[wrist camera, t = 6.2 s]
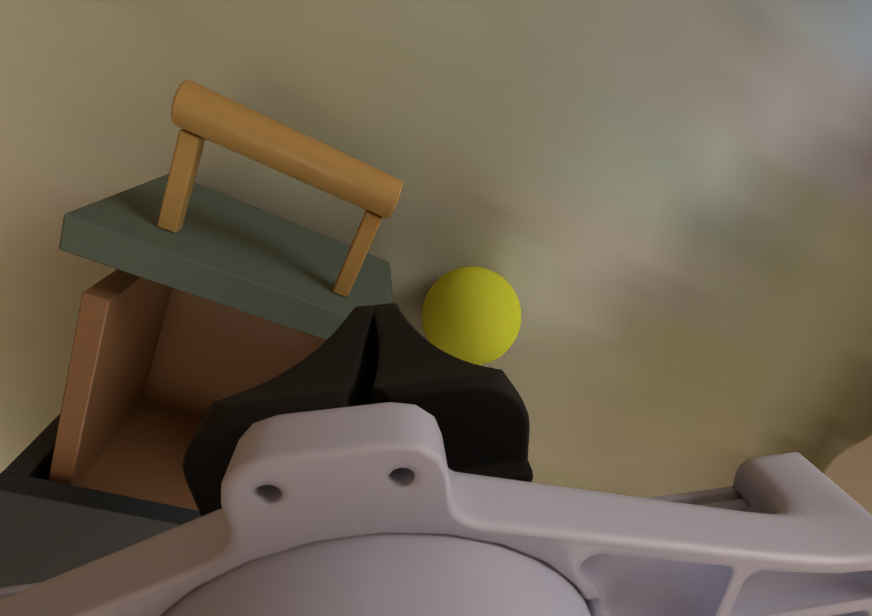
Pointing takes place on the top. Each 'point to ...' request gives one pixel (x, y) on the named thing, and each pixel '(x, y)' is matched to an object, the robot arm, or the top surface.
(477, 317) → the ball
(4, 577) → the cabinet
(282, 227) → the drawer
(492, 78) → the top surface
